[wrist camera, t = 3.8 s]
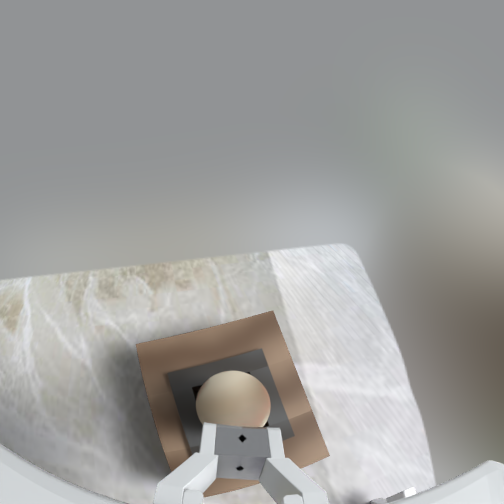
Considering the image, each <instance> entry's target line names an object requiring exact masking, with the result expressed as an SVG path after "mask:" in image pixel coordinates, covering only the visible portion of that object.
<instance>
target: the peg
mask: <svg viewBox="0 0 504 504" xmlns="http://www.w3.org/2000/svg"><path fill="white" fill-rule="evenodd" d="M270 409H271V403H270V398H269V394H268V392H267V390H266V388H265V387H264V386H263V384H262V383H261V382H260V381H259V380H258V379H256V378H255V377H253V376H252V375H250V374H247V373H245V372H241V371H224V372H221V373H218V374H216V375H213V376H212V377H210V378H209V379H208V380H207V381H206V382H205V383H204V384H203V385H202V387H201V388H200V390H199V392H198V395H197V399H196V411H197V415H198V417H199V420H200V421H201V423H202V424H204V422H206V423H213V424H222V425H230V426H240V427H242V426H245V427H263V426H264V425H265V423H266V422H267V420H268V417H269V414H270ZM216 428H217V425H216Z"/></svg>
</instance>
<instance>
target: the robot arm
mask: <svg viewBox="0 0 504 504" xmlns="http://www.w3.org/2000/svg"><path fill="white" fill-rule="evenodd" d="M216 425H217V428H216ZM215 438H216V439H215ZM216 478H228V479H245V480H259V482H260V483H261V485H262V486H263V487H264V488H265V490H266V491H267V492H268V493H269V495H270V496H271V497H272V498H273V499H274V501H275V502H276V503H277V504H329V501H328V497H327V493H326V491H325V490H324V489H323V488H322V487H321V486H319V485H318V484H317V483H316V482H315V481H314V480H312V479H311V478H310V477H309V476H308V475H307V474H306V473H304V472H303V471H302V470H301V469H300V468H299V467H298V466H297V465H296V464H295V463H293V462H292V461H291V460H290V459H289V458H285V455H284V449H283V443H282V436H281V430H280V428H266V427H245V426H242V427H240V426H230V425H222V424H213V423H206V422H204V424H203V428H202V435H201V443H200V450H199V453H197V452H195V453H194V454H193V455H192V456H191V457H189V458H188V459H187V460H186V461H185V462H183V463H182V464H181V465H180V466H179V467H177V468H176V469H175V470H174V471H173V472H171V473H170V474H169V475H168V476H166V477H165V478H164V479H162V480H161V481H160V482H159V483H158V484H157V488H156V492H155V497H154V501H153V504H203V492H204V491H205V490H206V489H207V488H208V487H209V486H210V485H211V484H212V483H213V482H214V480H215V479H216ZM0 504H129V503H125V502H122V501H119V500H115V499H112V498H109V497H106V496H103V495H101V494H98V493H95V492H93V491H90V490H87V489H85V488H82V487H80V486H78V485H75V484H73V483H71V482H68V481H66V480H64V479H62V478H60V477H58V476H56V475H54V474H52V473H50V472H48V471H46V470H44V469H42V468H40V467H38V466H36V465H35V464H33V463H31V462H29V461H27V460H26V459H24V458H22V457H21V456H19V455H18V454H16V453H14V452H13V451H11V450H10V449H8V448H7V447H5V446H4V445H2V444H1V443H0ZM386 504H504V464H502V463H499V462H495V461H491V460H489V461H485V462H483V463H481V464H480V465H478V466H476V467H474V468H473V469H471V470H469V471H467V472H465V473H463V474H461V475H459V476H457V477H455V478H453V479H451V480H448V481H446V482H444V483H442V484H439V485H437V486H435V487H432V488H430V489H427V490H425V491H422V492H420V493H417V494H414V495H411V496H408V497H406V498H403V499H399V500H396V501H393V502H390V503H386Z"/></svg>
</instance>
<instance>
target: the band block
mask: <svg viewBox="0 0 504 504" xmlns="http://www.w3.org/2000/svg"><path fill="white" fill-rule="evenodd" d="M136 348H137V353H138V358H139V363H140V367H141V372H142V376H143V380H144V385H145V389H146V393H147V397H148V400H149V404H150V408H151V411H152V415H153V418H154V422H155V425H156V428H157V432H158V435H159V438H160V441H161V444H162V447H163V450H164V453H165V456H166V459H167V461H168V464H169V467H170V470H171V472H173V471H174V470H175V469H176V468H177V467H179V466H180V465H181V464H182V463H183V462H185V461H186V460H187V459H188V458H189V457H191V456H192V455H193V454H194V453H195V452H197V453H199V450H200V443H201V435H202V428H203V424H202V423H201V421H200V420H199V417H198V415H197V411H196V399H197V395H198V392H199V390H200V388H201V387H202V385H203V384H204V383H205V382H206V381H207V380H208V379H209V378H210V377H212V376H213V375H216V374H218V373H221V372H224V371H241V372H245V373H247V374H250V375H252V376H253V377H255V378H256V379H258V380H259V381H260V382H261V383H262V384H263V386H264V387H265V388H266V390H267V392H268V394H269V398H270V403H271V409H270V414H269V417H268V420H267V422H266V423H265V425H264V426H263V427H266V428H280V430H281V436H282V443H283V449H284V455H285V458H289V459H290V460H291V461H292V462H293V463H295V464H296V465H297V466H298V467H299V468H300V469H301V468H303V467H306V466H308V465H310V464H313V463H315V462H317V461H319V460H322V459H324V458H326V457H328V456H330V455H329V452H328V450H327V447H326V445H325V442H324V440H323V437H322V435H321V432H320V430H319V427H318V424H317V422H316V419H315V417H314V414H313V412H312V409H311V407H310V404H309V402H308V399H307V396H306V394H305V391H304V389H303V386H302V384H301V381H300V379H299V376H298V373H297V371H296V368H295V366H294V363H293V361H292V358H291V355H290V353H289V350H288V348H287V345H286V343H285V340H284V338H283V335H282V332H281V330H280V327H279V325H278V322H277V320H276V317H275V314H274V312H273V311H269V312H266V313H262V314H259V315H255V316H252V317H248V318H244V319H240V320H237V321H233V322H229V323H225V324H221V325H218V326H214V327H210V328H206V329H201V330H197V331H193V332H189V333H185V334H180V335H176V336H172V337H167V338H162V339H158V340H153V341H148V342H144V343H139V344H136ZM215 439H216V438H215ZM259 483H260V482H259V480H245V479H228V478H216V479H215V480H214V482H213V483H212V484H211V485H210V486H209V487H208V488H207V489H206V490H205V491H204V492H203V497H208V496H213V495H217V494H222V493H226V492H230V491H234V490H238V489H242V488H245V487H249V486H252V485H255V484H259Z"/></svg>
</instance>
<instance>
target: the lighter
mask: <svg viewBox="0 0 504 504" xmlns="http://www.w3.org/2000/svg"><path fill="white" fill-rule="evenodd" d="M414 494H416V490H415V487H412V488H410V489H407V490H405V491H402V492H400V493H398V494H395V495H393V496H391V497H388V498H386V499H383V498H378V499H375V500H372V501H371V503H370V504H386V503H390V502H393V501H396V500H399V499H403V498H406V497H408V496H411V495H414Z"/></svg>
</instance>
